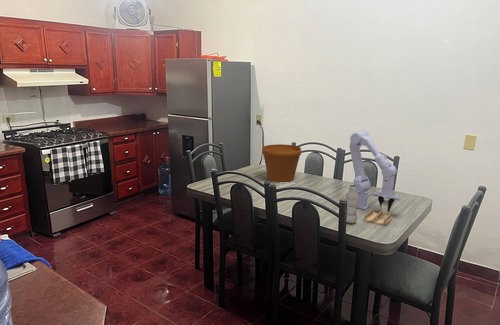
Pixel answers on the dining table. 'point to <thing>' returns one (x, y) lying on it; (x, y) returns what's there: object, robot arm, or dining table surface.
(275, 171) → the flowerpot
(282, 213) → the dining table surface
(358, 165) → the robot arm
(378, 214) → the rack
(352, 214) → the plastic bottle
